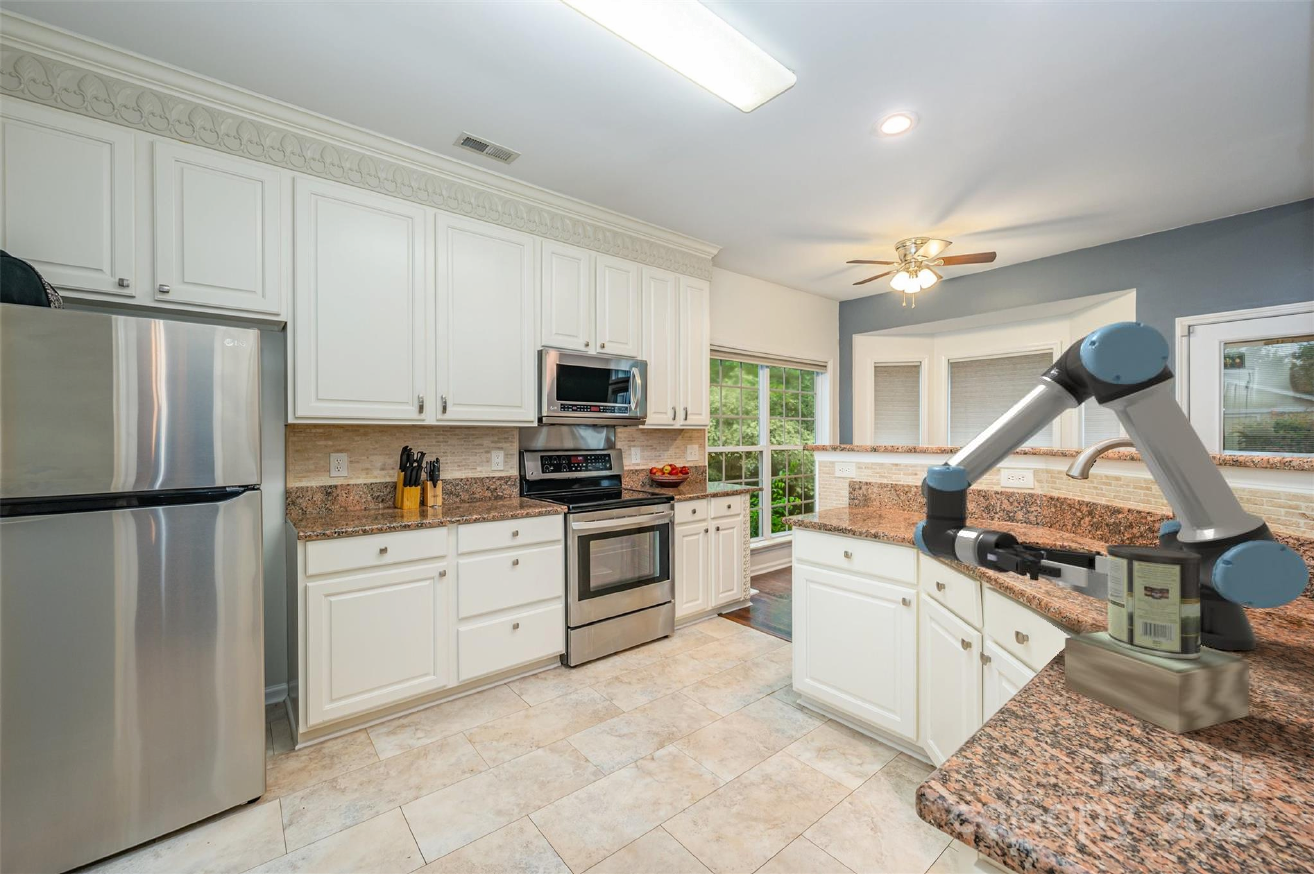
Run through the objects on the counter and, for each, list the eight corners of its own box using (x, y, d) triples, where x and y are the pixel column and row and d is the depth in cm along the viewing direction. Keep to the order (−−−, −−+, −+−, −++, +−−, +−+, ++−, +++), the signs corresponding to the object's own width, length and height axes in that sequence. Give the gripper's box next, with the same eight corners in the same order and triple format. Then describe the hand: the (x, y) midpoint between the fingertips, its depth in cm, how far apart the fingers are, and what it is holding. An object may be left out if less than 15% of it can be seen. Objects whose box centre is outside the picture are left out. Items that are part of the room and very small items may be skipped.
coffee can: (1166, 636, 83) (1166, 545, 83) (1222, 663, 73) (1222, 559, 73) (1090, 631, 85) (1091, 542, 85) (1134, 656, 75) (1134, 554, 75)
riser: (1131, 674, 88) (1131, 625, 88) (1249, 715, 75) (1249, 658, 75) (1064, 687, 83) (1065, 635, 83) (1178, 734, 69) (1178, 672, 70)
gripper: (1033, 565, 108) (1163, 593, 88) (939, 572, 99) (1060, 606, 79) (1033, 527, 108) (1163, 547, 88) (940, 532, 99) (1061, 555, 79)
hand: (1115, 575), depth 83 cm, fingers open, 13 cm apart
